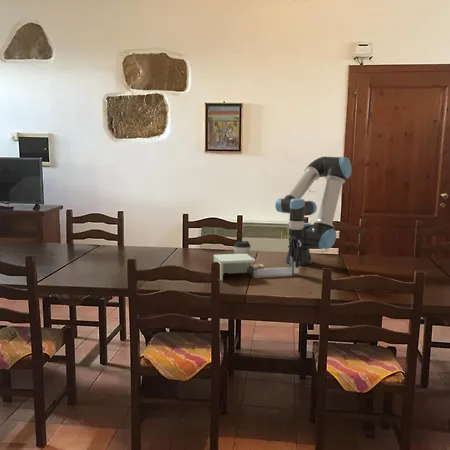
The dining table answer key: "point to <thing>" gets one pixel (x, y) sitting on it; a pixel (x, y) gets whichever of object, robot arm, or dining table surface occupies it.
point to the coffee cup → (242, 248)
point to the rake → (273, 270)
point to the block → (258, 265)
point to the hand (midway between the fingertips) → (294, 271)
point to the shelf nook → (233, 263)
